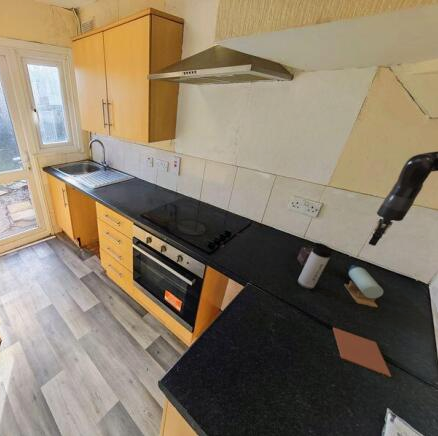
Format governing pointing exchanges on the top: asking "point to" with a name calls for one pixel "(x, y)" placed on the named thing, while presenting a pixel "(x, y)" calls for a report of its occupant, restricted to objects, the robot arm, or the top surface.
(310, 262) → the travel mug
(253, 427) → the top surface
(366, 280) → the pale blue bottle
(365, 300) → the drying stand
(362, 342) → the plate
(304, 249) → the box
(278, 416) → the top surface
